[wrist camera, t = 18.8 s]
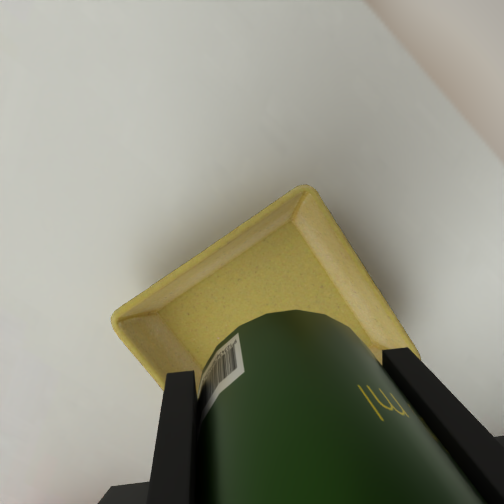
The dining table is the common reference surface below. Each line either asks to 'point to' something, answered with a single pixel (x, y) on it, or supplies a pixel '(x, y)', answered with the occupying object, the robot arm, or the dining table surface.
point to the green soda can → (313, 423)
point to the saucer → (257, 289)
